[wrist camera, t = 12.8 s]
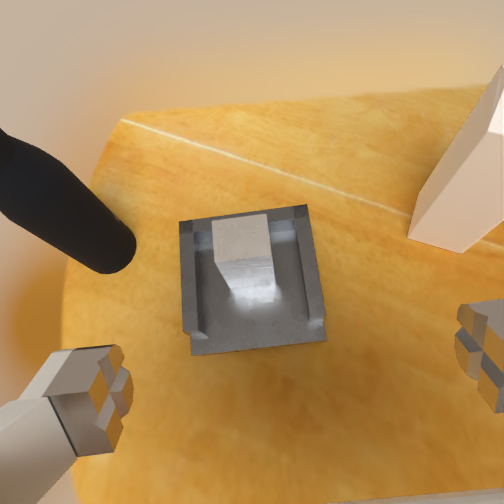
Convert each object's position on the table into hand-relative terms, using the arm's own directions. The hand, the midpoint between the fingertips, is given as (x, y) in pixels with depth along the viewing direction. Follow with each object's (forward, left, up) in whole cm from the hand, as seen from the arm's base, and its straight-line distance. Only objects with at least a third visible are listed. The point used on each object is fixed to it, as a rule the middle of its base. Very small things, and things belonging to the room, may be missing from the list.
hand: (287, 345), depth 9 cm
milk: (-24, -3, -32) cm, 40 cm away
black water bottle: (+8, -24, -32) cm, 41 cm away
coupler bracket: (-3, -10, -31) cm, 33 cm away
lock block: (-4, -12, -30) cm, 33 cm away
